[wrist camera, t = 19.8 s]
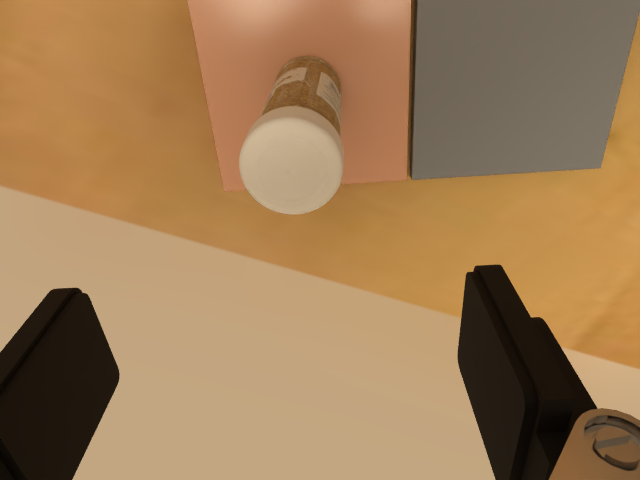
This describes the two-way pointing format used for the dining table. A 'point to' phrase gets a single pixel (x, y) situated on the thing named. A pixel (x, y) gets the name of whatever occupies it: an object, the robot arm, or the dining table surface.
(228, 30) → the terracotta tile
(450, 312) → the dining table surface
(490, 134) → the gray tile
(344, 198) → the dining table surface
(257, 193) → the sprinkles bottle
